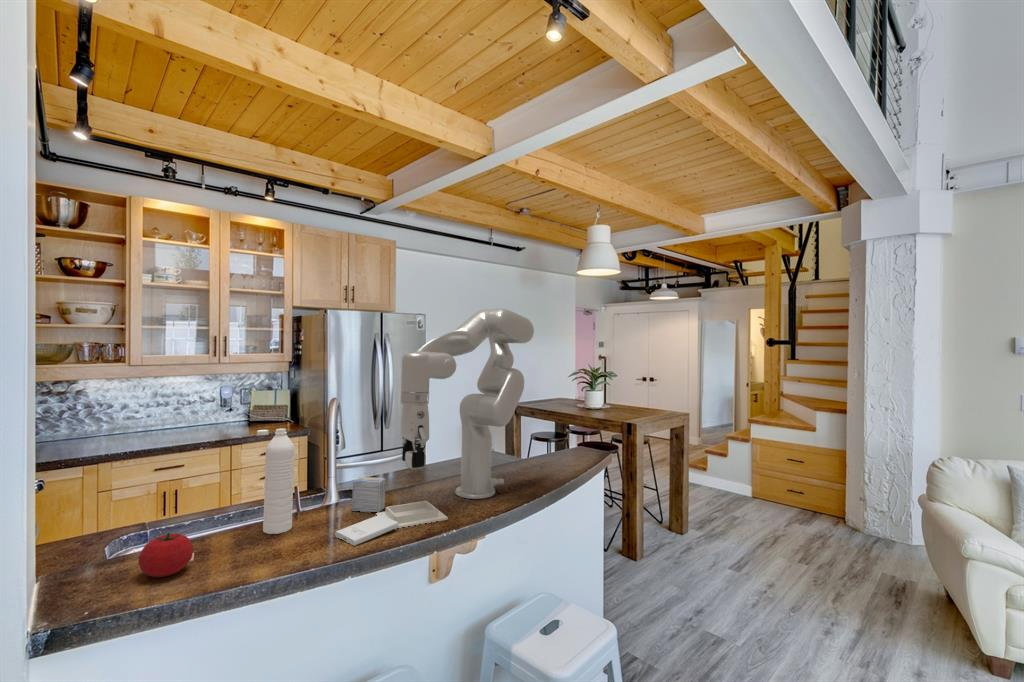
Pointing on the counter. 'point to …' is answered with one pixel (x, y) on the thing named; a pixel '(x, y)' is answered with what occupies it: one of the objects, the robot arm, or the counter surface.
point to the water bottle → (278, 483)
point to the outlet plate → (413, 514)
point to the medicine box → (368, 494)
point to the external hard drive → (366, 529)
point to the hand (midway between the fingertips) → (412, 463)
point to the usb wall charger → (409, 460)
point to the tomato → (165, 555)
